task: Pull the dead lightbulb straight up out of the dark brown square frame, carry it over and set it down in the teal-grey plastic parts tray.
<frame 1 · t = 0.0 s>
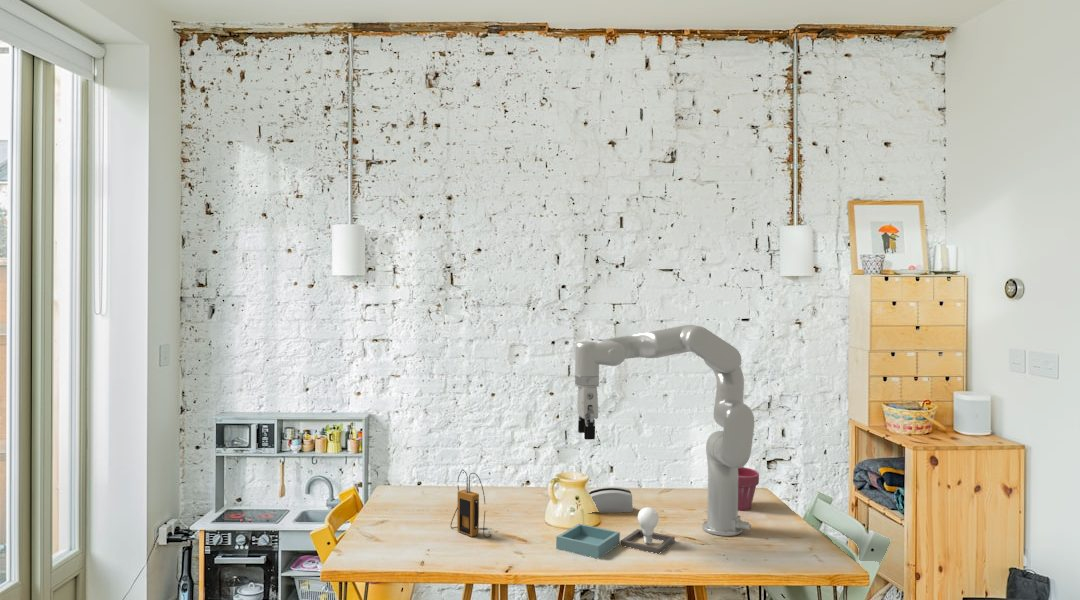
hand: (586, 435, 222), 31 cm above the table, tool pointing down, fingers open, 9 cm apart
dark brown square frame: (647, 543, 215), on the table
multimeter: (476, 531, 225), on the table
parts tray: (588, 546, 212), on the table
plant pot: (737, 507, 253), on the table
grey rounded block: (609, 512, 246), on the table
lightbulb: (647, 544, 215), resting in dark brown square frame
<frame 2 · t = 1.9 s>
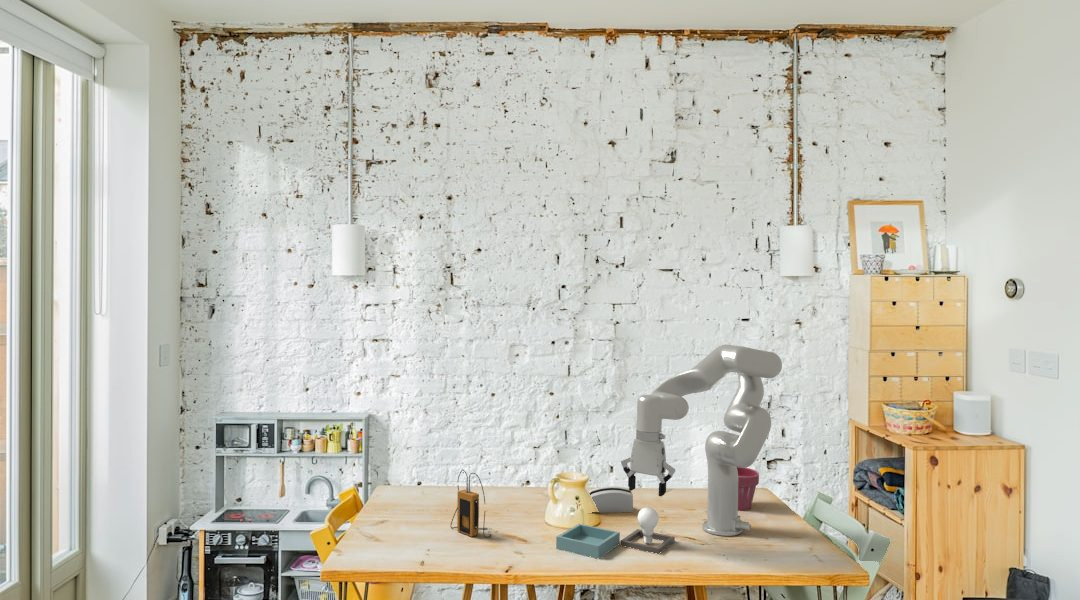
hand: (646, 492, 215), 16 cm above the table, tool pointing down, fingers open, 9 cm apart
nothing on the table moved.
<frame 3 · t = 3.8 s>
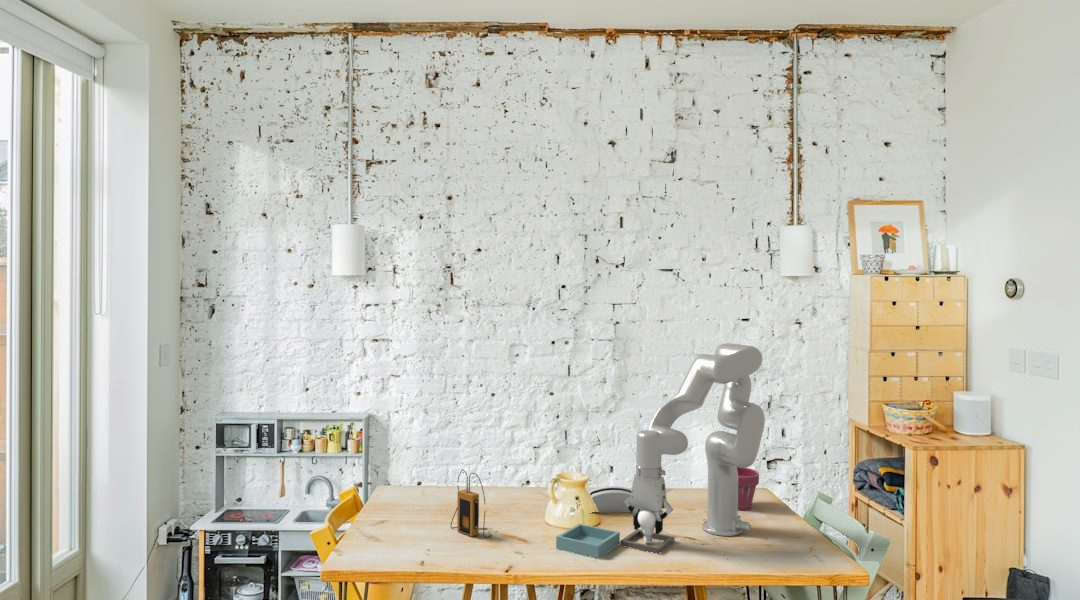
hand: (647, 530, 215), 4 cm above the table, tool pointing down, fingers closed on lightbulb, 6 cm apart
lightbulb: (647, 544, 215), resting in dark brown square frame, touching gripper
everything else where it was.
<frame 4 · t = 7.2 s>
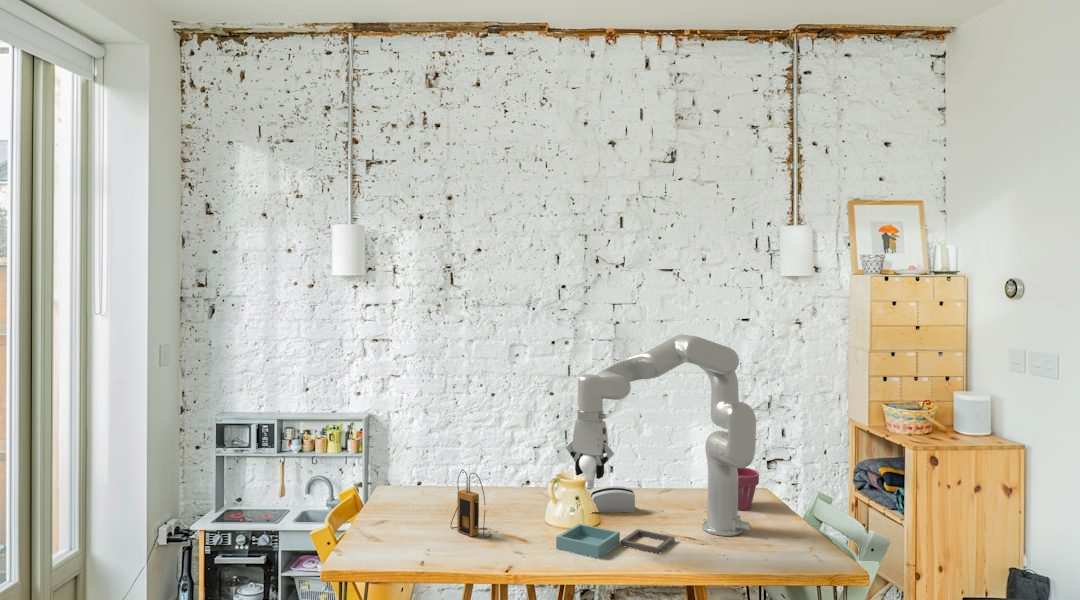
hand: (589, 475, 212), 21 cm above the table, tool pointing down, fingers closed on lightbulb, 6 cm apart
lightbulb: (589, 489, 212), point 17 cm above the table, touching gripper
everything else where it was.
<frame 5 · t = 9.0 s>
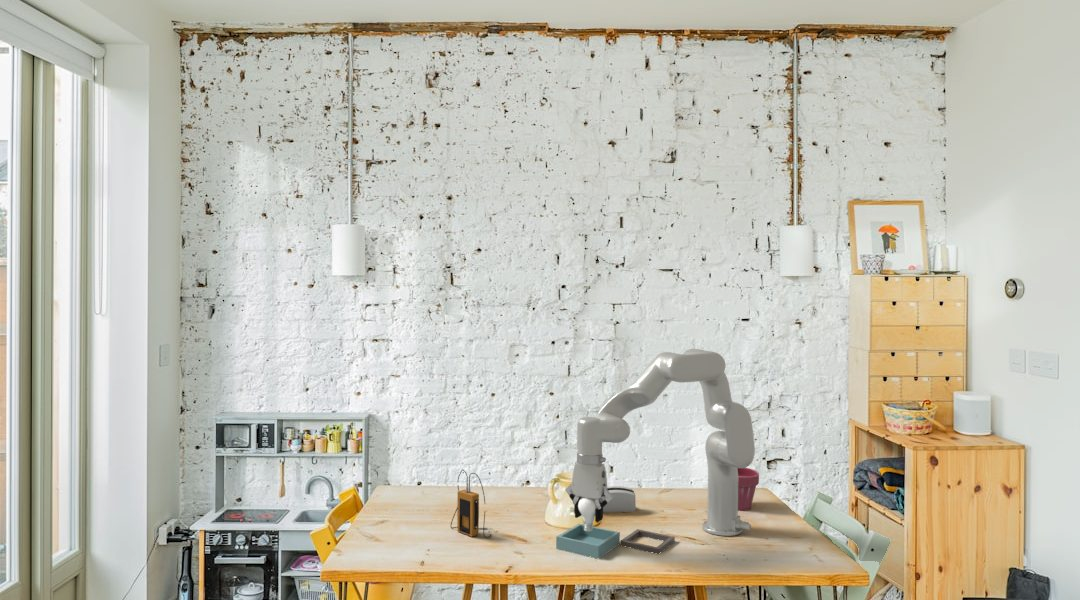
hand: (588, 518, 212), 8 cm above the table, tool pointing down, fingers closed on lightbulb, 6 cm apart
lightbulb: (588, 532, 212), point 4 cm above the table, touching gripper
when the fingers open (6 cm above the table, at t = 10.4 s): lightbulb drops 1 cm, resting on parts tray.
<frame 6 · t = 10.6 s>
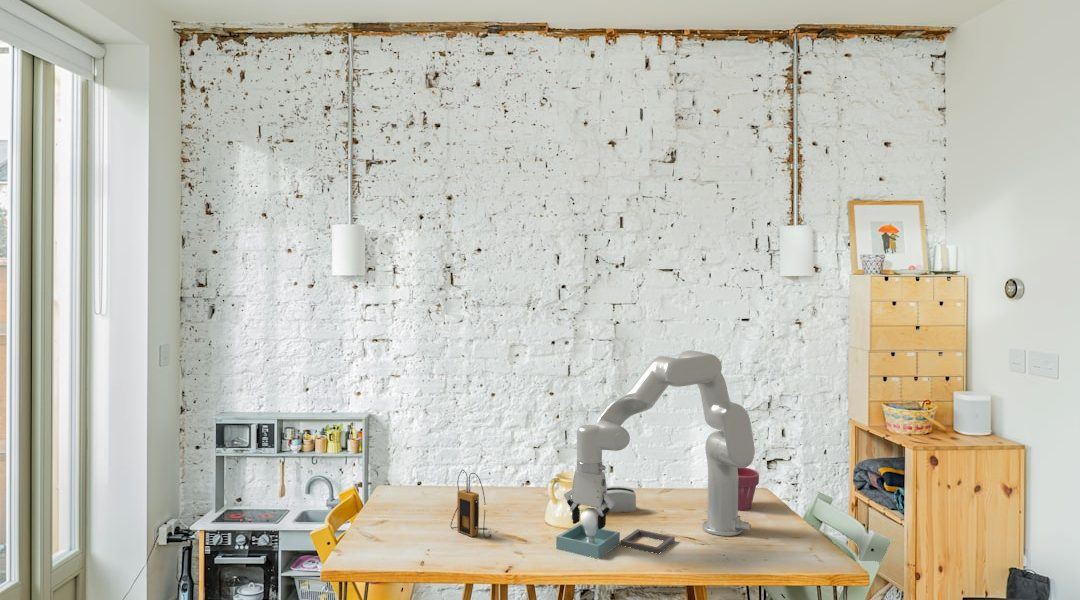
hand: (588, 525, 212), 6 cm above the table, tool pointing down, fingers open, 8 cm apart
lightbulb: (590, 545, 212), resting on parts tray
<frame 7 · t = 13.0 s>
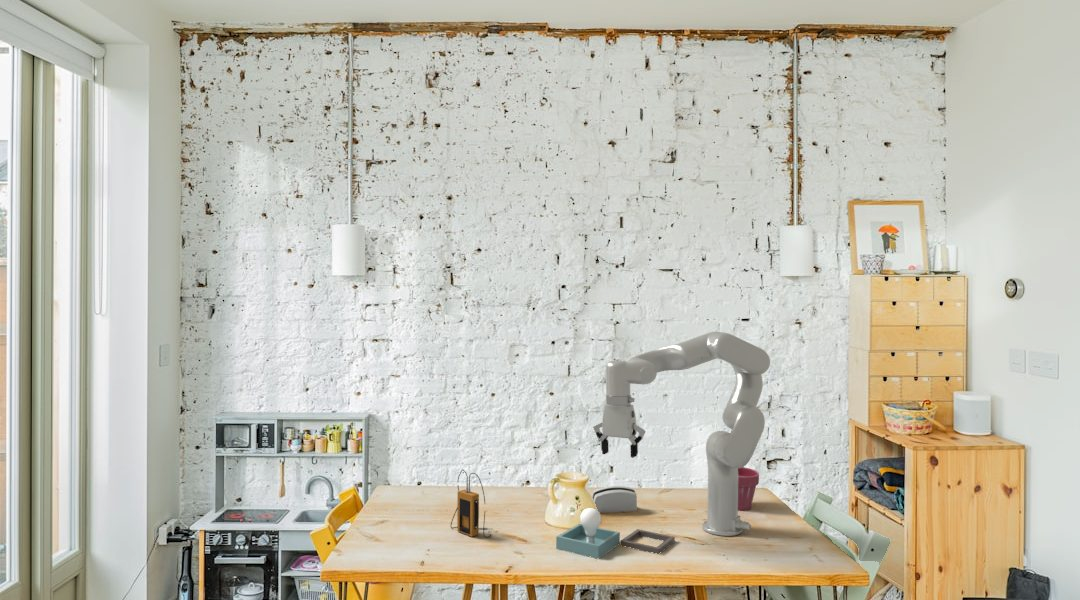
hand: (619, 455, 221), 25 cm above the table, tool pointing down, fingers open, 9 cm apart
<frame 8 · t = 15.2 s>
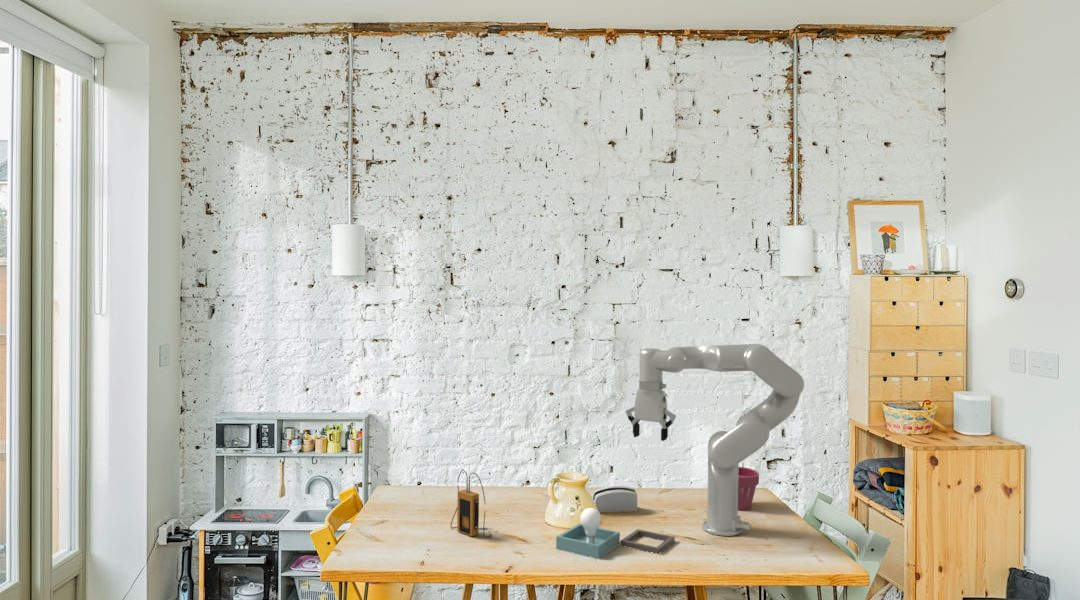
hand: (650, 438, 233), 28 cm above the table, tool pointing down, fingers open, 9 cm apart
at the end: lightbulb 0.7 cm from the parts tray (horizontally); lightbulb resting on parts tray; the gripper is holding nothing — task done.
